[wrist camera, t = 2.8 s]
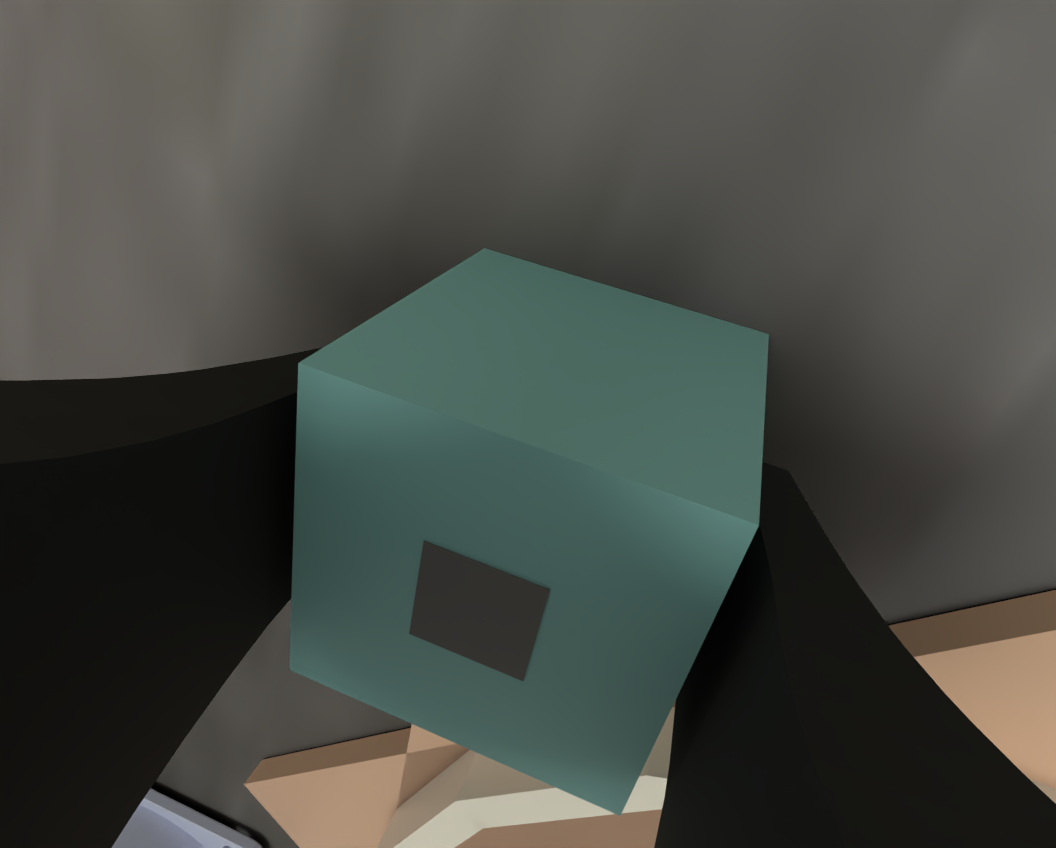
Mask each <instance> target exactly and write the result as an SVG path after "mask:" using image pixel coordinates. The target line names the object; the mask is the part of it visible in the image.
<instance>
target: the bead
mask: <svg viewBox="0 0 1056 848" xmlns="http://www.w3.org/2000/svg"><path fill="white" fill-rule="evenodd" d="M768 343H769V334H767V333H763V332H760V331H757V330H754V329H750V328H747V327H744V326H740V325H737V324H734V323H730V322H727V321H724V320H720V319H717V318H714V317H711V316H707V315H704V314H701V313H697V312H694V311H691V310H687V309H684V308H681V307H677V306H674V305H671V304H668V303H664V302H661V301H658V300H654V299H651V298H648V297H644V296H641V295H638V294H634V293H631V292H628V291H625V290H621V289H618V288H615V287H611V286H608V285H605V284H601V283H598V282H595V281H591V280H588V279H585V278H582V277H578V276H575V275H572V274H568V273H565V272H562V271H558V270H555V269H552V268H548V267H545V266H542V265H538V264H535V263H532V262H529V261H525V260H522V259H519V258H515V257H512V256H509V255H505V254H502V253H499V252H495V251H492V250H489V249H486V248H484V249H482V250H481V251H479V252H477V253H476V254H474V255H473V256H471V257H469V258H468V259H466V260H464V261H463V262H461V263H460V264H458V265H456V266H455V267H453V268H451V269H450V270H448V271H447V272H445V273H443V274H442V275H440V276H438V277H437V278H435V279H434V280H432V281H430V282H429V283H427V284H426V285H424V286H422V287H421V288H419V289H417V290H416V291H414V292H413V293H411V294H409V295H408V296H406V297H404V298H403V299H401V300H400V301H398V302H396V303H395V304H393V305H392V306H390V307H388V308H387V309H385V310H383V311H382V312H380V313H379V314H377V315H375V316H374V317H372V318H370V319H369V320H367V321H366V322H364V323H362V324H361V325H359V326H358V327H356V328H354V329H353V330H351V331H349V332H348V333H346V334H345V335H343V336H341V337H340V338H338V339H336V340H335V341H333V342H332V343H330V344H328V345H327V346H325V347H323V348H322V349H320V350H319V351H317V352H315V353H314V354H312V355H311V356H309V357H307V358H306V359H304V360H302V361H301V362H299V363H298V389H297V423H296V457H295V491H294V525H293V559H292V593H291V627H290V661H289V670H291V671H293V672H295V673H298V674H300V675H302V676H305V677H307V678H309V679H311V680H314V681H316V682H318V683H320V684H323V685H325V686H327V687H329V688H332V689H334V690H336V691H338V692H341V693H343V694H345V695H348V696H350V697H352V698H354V699H357V700H359V701H361V702H363V703H366V704H368V705H370V706H372V707H375V708H377V709H379V710H381V711H384V712H386V713H388V714H391V715H393V716H395V717H397V718H400V719H402V720H404V721H406V722H409V723H411V724H413V725H415V726H418V727H420V728H422V729H424V730H427V731H429V732H431V733H433V734H436V735H438V736H440V737H443V738H445V739H447V740H449V741H452V742H454V743H456V744H458V745H461V746H463V747H465V748H467V749H470V750H472V751H474V752H476V753H479V754H481V755H483V756H486V757H488V758H490V759H492V760H495V761H497V762H499V763H501V764H504V765H506V766H508V767H510V768H513V769H515V770H517V771H519V772H522V773H524V774H526V775H529V776H531V777H533V778H535V779H538V780H540V781H542V782H544V783H547V784H549V785H551V786H553V787H556V788H558V789H560V790H562V791H565V792H567V793H569V794H572V795H574V796H576V797H578V798H581V799H583V800H585V801H587V802H590V803H592V804H594V805H596V806H599V807H601V808H603V809H605V810H608V811H610V812H612V813H615V814H617V815H619V816H621V813H622V811H623V809H624V807H625V805H626V803H627V801H628V799H629V797H630V795H631V792H632V790H633V788H634V786H635V784H636V782H637V780H638V778H639V776H640V774H641V772H642V769H643V767H644V765H645V763H646V761H647V759H648V757H649V755H650V753H651V751H652V748H653V746H654V744H655V742H656V740H657V738H658V736H659V734H660V732H661V730H662V727H663V725H664V723H665V721H666V719H667V717H668V715H669V713H670V711H671V709H672V707H673V704H674V702H675V700H676V698H677V696H678V694H679V692H680V690H681V688H682V686H683V683H684V681H685V679H686V677H687V675H688V673H689V671H690V669H691V667H692V665H693V663H694V660H695V658H696V656H697V654H698V652H699V650H700V648H701V646H702V644H703V642H704V639H705V637H706V635H707V633H708V631H709V629H710V627H711V625H712V623H713V621H714V618H715V616H716V614H717V612H718V610H719V608H720V606H721V604H722V602H723V600H724V598H725V595H726V593H727V591H728V589H729V587H730V585H731V583H732V581H733V579H734V577H735V574H736V572H737V570H738V568H739V566H740V564H741V562H742V560H743V558H744V556H745V553H746V551H747V549H748V547H749V545H750V543H751V541H752V539H753V537H754V535H755V533H756V530H757V528H758V526H759V516H760V496H761V477H762V458H763V439H764V419H765V400H766V381H767V362H768Z"/></svg>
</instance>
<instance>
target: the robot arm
mask: <svg viewBox="0 0 1056 848" xmlns="http://www.w3.org/2000/svg"><path fill="white" fill-rule="evenodd" d="M320 349H322V348H319V349H314V350H309V351H304V352H299V353H294V354H289V355H284V356H279V357H274V358H269V359H263V360H256V361H250V362H244V363H238V364H232V365H226V366H220V367H214V368H208V369H202V370H194V371H187V372H178V373H169V374H159V375H147V376H135V377H123V378H107V379H71V380H31V381H0V848H262V846H261V845H260V844H259V843H258V842H257V841H255V840H254V839H252V838H250V837H248V836H246V835H244V834H242V833H240V832H238V831H236V830H234V829H232V828H230V827H228V826H226V825H224V824H222V823H220V822H218V821H216V820H214V819H212V818H210V817H208V816H206V815H204V814H202V813H200V812H198V811H196V810H194V809H192V808H190V807H188V806H186V805H184V804H182V803H179V802H177V801H175V800H173V799H171V798H169V797H167V796H165V795H163V794H161V793H159V792H157V791H155V790H153V789H151V787H152V786H153V784H154V783H155V781H156V780H157V778H158V777H159V775H160V774H161V772H162V771H163V769H164V768H165V766H166V765H167V763H168V762H169V760H170V759H171V757H172V756H173V755H174V753H175V752H176V750H177V749H178V747H179V746H180V744H181V743H182V741H183V740H184V738H185V737H186V736H187V734H188V733H189V731H190V730H191V729H192V727H193V726H194V724H195V723H196V722H197V720H198V719H199V717H200V716H201V715H202V713H203V712H204V710H205V709H206V708H207V706H208V705H209V704H210V702H211V701H212V699H213V698H214V697H215V695H216V694H217V692H218V691H219V690H220V688H221V687H222V685H223V684H224V683H225V681H226V680H227V678H228V677H229V676H230V674H231V673H232V672H233V671H234V669H235V668H236V667H237V665H238V664H239V663H240V661H241V660H242V659H243V657H244V656H245V655H246V653H247V652H248V651H249V649H250V648H251V647H252V645H253V644H254V643H255V641H256V640H257V639H258V638H259V636H260V635H261V634H262V632H263V631H264V630H265V628H266V627H267V626H268V624H269V623H270V622H271V621H272V620H273V619H274V617H275V616H276V615H277V614H278V613H279V612H280V611H281V609H282V608H283V607H284V606H285V605H286V604H287V602H288V601H289V600H290V599H291V593H292V559H293V525H294V491H295V457H296V423H297V389H298V363H299V362H301V361H302V360H304V359H306V358H307V357H309V356H311V355H312V354H314V353H315V352H317V351H319V350H320ZM654 848H1056V803H1055V802H1053V801H1052V800H1051V799H1050V798H1049V797H1048V796H1047V795H1046V794H1045V793H1044V792H1043V791H1042V790H1040V789H1039V788H1038V787H1037V786H1036V785H1035V784H1034V783H1033V782H1032V781H1031V780H1030V779H1029V778H1028V777H1027V776H1026V775H1024V774H1023V773H1022V772H1021V771H1020V770H1019V769H1018V768H1017V767H1016V766H1015V765H1014V764H1013V763H1012V762H1011V761H1010V760H1009V759H1008V758H1007V757H1006V756H1005V755H1004V754H1003V753H1002V752H1001V751H1000V750H999V749H998V748H997V747H996V746H995V745H994V744H993V743H992V742H991V741H990V740H989V739H988V738H987V737H986V736H985V735H984V734H983V733H982V732H981V731H980V730H979V729H978V728H977V727H976V726H975V725H974V724H973V723H972V722H971V721H970V720H969V718H968V717H967V716H966V715H965V714H964V713H963V712H962V711H961V710H960V709H959V708H958V707H957V706H956V705H955V704H954V703H953V701H952V700H951V699H950V698H949V697H948V696H947V695H946V694H945V693H944V692H943V691H942V689H941V688H940V687H939V686H938V685H937V684H936V682H935V681H934V680H933V679H932V678H931V677H930V675H929V674H928V673H927V672H926V671H925V670H924V668H923V667H922V666H921V665H920V664H919V663H918V662H917V660H916V659H915V658H914V657H913V656H912V655H911V653H910V652H909V651H908V650H907V649H906V648H905V646H904V645H903V644H902V643H901V641H900V640H899V639H898V638H897V636H896V635H895V634H894V633H893V631H892V630H891V629H890V627H889V626H888V625H887V624H886V622H885V621H884V619H883V618H882V617H881V615H880V614H879V613H878V611H877V610H876V609H875V607H874V606H873V604H872V603H871V602H870V600H869V599H868V598H867V596H866V595H865V593H864V592H863V591H862V589H861V588H860V587H859V585H858V584H857V582H856V581H855V579H854V578H853V576H852V575H851V573H850V572H849V570H848V569H847V567H846V566H845V564H844V563H843V561H842V560H841V558H840V557H839V555H838V553H837V552H836V550H835V549H834V547H833V545H832V544H831V542H830V541H829V539H828V537H827V536H826V534H825V532H824V531H823V529H822V528H821V526H820V524H819V522H818V521H817V519H816V517H815V516H814V514H813V512H812V511H811V509H810V507H809V505H808V504H807V502H806V500H805V498H804V497H803V495H802V493H801V492H800V490H799V488H798V486H797V485H796V483H795V481H794V480H793V478H792V476H791V475H790V473H789V472H788V471H787V470H784V469H781V468H778V467H775V466H772V465H769V464H766V463H763V462H762V477H761V496H760V516H759V526H758V528H757V530H756V533H755V535H754V537H753V539H752V541H751V543H750V545H749V547H748V549H747V551H746V553H745V556H744V558H743V560H742V562H741V564H740V566H739V568H738V570H737V572H736V574H735V577H734V579H733V581H732V583H731V585H730V587H729V589H728V591H727V593H726V595H725V598H724V600H723V602H722V604H721V606H720V608H719V610H718V612H717V614H716V616H715V618H714V621H713V623H712V625H711V627H710V629H709V631H708V633H707V635H706V637H705V639H704V642H703V644H702V646H701V648H700V650H699V652H698V654H697V656H696V658H695V660H694V663H693V665H692V667H691V669H690V671H689V673H688V675H687V677H686V679H685V681H684V683H683V686H682V688H681V690H680V692H679V694H678V696H677V698H676V702H675V712H674V722H673V732H672V743H671V753H670V763H669V770H668V777H667V784H666V791H665V797H664V802H663V807H662V812H661V817H660V822H659V827H658V831H657V836H656V841H655V846H654Z"/></svg>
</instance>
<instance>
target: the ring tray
mask: <svg viewBox="0 0 1056 848" xmlns="http://www.w3.org/2000/svg"><path fill="white" fill-rule="evenodd" d="M889 627H890V629H891V630H892V631H893V633H894V634H895V635H896V636H897V638H898V639H899V640H900V641H901V643H902V644H903V645H904V646H905V648H906V649H907V650H908V651H909V652H910V653H911V655H912V656H913V657H914V658H915V659H916V660H917V662H918V663H919V664H920V665H921V666H922V667H923V668H924V670H925V671H926V672H927V673H928V674H929V675H930V677H931V678H932V679H933V680H934V681H935V682H936V684H937V685H938V686H939V687H940V688H941V689H942V691H943V692H944V693H945V694H946V695H947V696H948V697H949V698H950V699H951V700H952V701H953V703H954V704H955V705H956V706H957V707H958V708H959V709H960V710H961V711H962V712H963V713H964V714H965V715H966V716H967V717H968V718H969V720H970V721H971V722H972V723H973V724H974V725H975V726H976V727H977V728H978V729H979V730H980V731H981V732H982V733H983V734H984V735H985V736H986V737H987V738H988V739H989V740H990V741H991V742H992V743H993V744H994V745H995V746H996V747H997V748H998V749H999V750H1000V751H1001V752H1002V753H1003V754H1004V755H1005V756H1006V757H1007V758H1008V759H1009V760H1010V761H1011V762H1012V763H1013V764H1014V765H1015V766H1016V767H1017V768H1018V769H1019V770H1020V771H1021V772H1022V773H1023V774H1024V775H1026V776H1027V777H1028V778H1029V779H1030V780H1031V781H1032V782H1033V783H1034V784H1035V785H1036V786H1037V787H1038V788H1039V789H1040V790H1042V791H1043V792H1044V793H1045V794H1046V795H1047V796H1048V797H1049V798H1050V799H1051V800H1052V801H1053V802H1055V803H1056V590H1053V591H1048V592H1043V593H1039V594H1034V595H1029V596H1025V597H1020V598H1015V599H1011V600H1006V601H1001V602H997V603H992V604H987V605H983V606H978V607H973V608H969V609H964V610H959V611H955V612H950V613H945V614H941V615H936V616H931V617H926V618H922V619H917V620H912V621H908V622H903V623H898V624H894V625H889ZM675 702H676V700H675ZM675 702H674V704H673V707H672V709H671V711H670V713H669V715H668V717H667V719H666V721H665V723H664V725H663V727H662V730H661V732H660V734H659V736H658V738H657V740H656V742H655V744H654V746H653V748H652V751H651V753H650V755H649V757H648V759H647V761H646V763H645V765H644V767H643V769H642V772H641V774H640V776H639V778H638V780H637V782H636V784H635V786H634V788H633V790H632V792H631V795H630V797H629V799H628V801H627V803H626V805H625V807H624V809H623V811H622V813H621V816H619V815H617V814H615V813H612V812H610V811H608V810H605V809H603V808H601V807H599V806H596V805H594V804H592V803H590V802H587V801H585V800H583V799H581V798H578V797H576V796H574V795H572V794H569V793H567V792H565V791H562V790H560V789H558V788H556V787H553V786H551V785H549V784H547V783H544V782H542V781H540V780H538V779H535V778H533V777H531V776H529V775H526V774H524V773H522V772H519V771H517V770H515V769H513V768H510V767H508V766H506V765H504V764H501V763H499V762H497V761H495V760H492V759H490V758H488V757H486V756H483V755H481V754H479V753H476V752H474V751H472V750H470V749H467V748H465V747H463V746H461V745H458V744H456V743H454V742H452V741H449V740H447V739H445V738H443V737H440V736H438V735H436V734H433V733H431V732H429V731H427V730H424V729H422V728H420V727H418V726H415V725H413V724H412V725H411V728H408V729H403V730H399V731H394V732H389V733H384V734H380V735H375V736H370V737H366V738H361V739H356V740H352V741H347V742H342V743H338V744H333V745H328V746H324V747H319V748H314V749H310V750H305V751H300V752H296V753H291V754H286V755H282V756H277V757H272V758H268V759H263V760H262V761H261V762H260V763H259V765H258V766H257V767H256V769H255V770H254V771H253V773H252V774H251V775H250V777H249V778H248V779H247V781H246V782H245V783H244V785H245V786H246V787H247V789H248V790H249V791H250V792H251V793H252V794H253V795H254V796H255V798H256V799H257V800H258V801H259V802H260V803H261V804H262V805H263V807H264V808H265V809H266V810H267V811H268V812H269V813H270V815H271V816H272V817H273V818H274V819H275V820H276V821H277V822H278V824H279V825H280V826H281V827H282V828H283V829H284V830H285V832H286V833H287V834H288V835H289V836H290V837H291V838H292V839H293V841H294V842H295V843H296V844H297V845H298V846H299V847H300V848H654V846H655V841H656V836H657V831H658V827H659V822H660V817H661V812H662V807H663V802H664V797H665V791H666V784H667V777H668V770H669V763H670V753H671V743H672V732H673V722H674V712H675Z"/></svg>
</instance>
